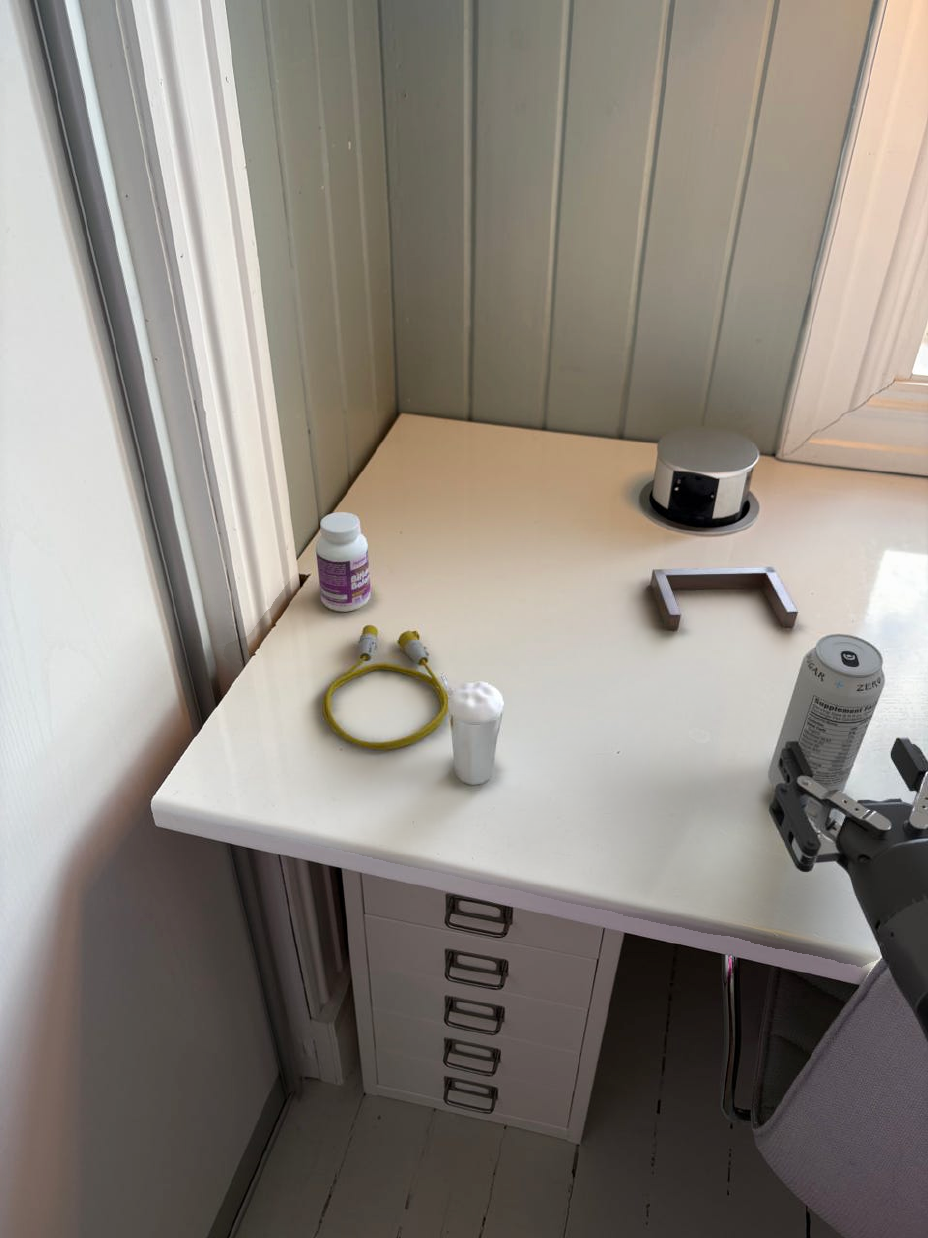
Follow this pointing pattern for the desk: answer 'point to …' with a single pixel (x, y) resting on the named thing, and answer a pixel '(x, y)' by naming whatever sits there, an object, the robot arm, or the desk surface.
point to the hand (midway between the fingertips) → (842, 746)
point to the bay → (720, 579)
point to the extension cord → (413, 650)
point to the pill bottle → (343, 563)
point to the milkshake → (474, 729)
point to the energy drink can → (832, 708)
